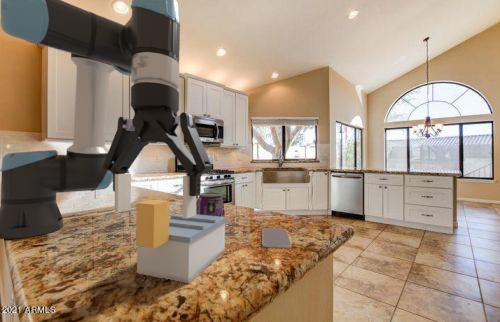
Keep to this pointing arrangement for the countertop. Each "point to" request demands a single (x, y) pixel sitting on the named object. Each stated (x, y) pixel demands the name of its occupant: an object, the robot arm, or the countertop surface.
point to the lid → (169, 225)
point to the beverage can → (210, 204)
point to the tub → (182, 257)
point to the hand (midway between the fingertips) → (154, 213)
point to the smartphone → (275, 238)
